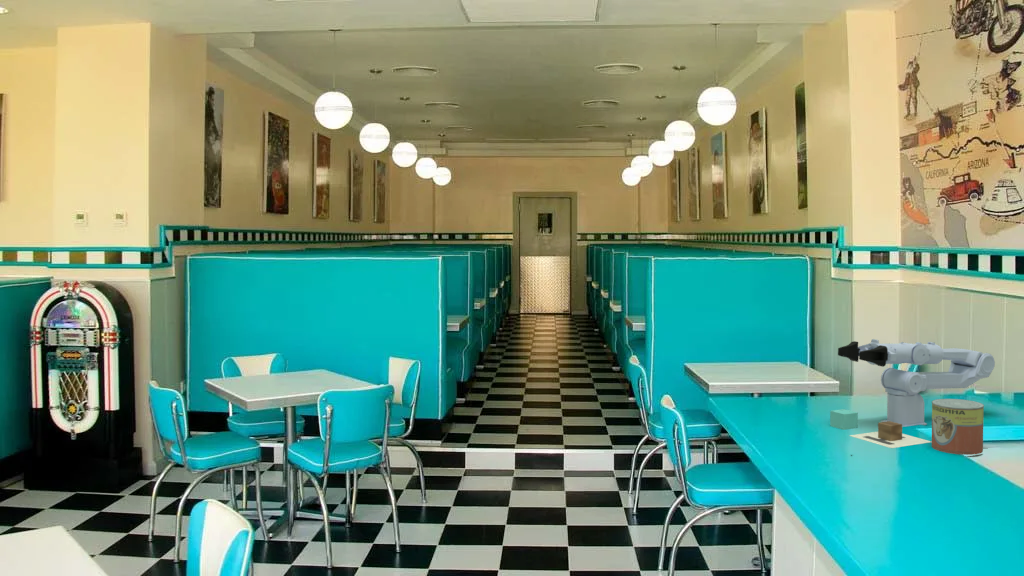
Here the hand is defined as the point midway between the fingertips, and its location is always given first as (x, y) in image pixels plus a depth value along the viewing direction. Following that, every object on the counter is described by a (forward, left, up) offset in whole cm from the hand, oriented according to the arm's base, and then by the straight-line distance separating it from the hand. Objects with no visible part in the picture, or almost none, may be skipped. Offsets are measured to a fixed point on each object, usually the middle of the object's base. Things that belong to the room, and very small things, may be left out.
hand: (849, 353), depth 214 cm
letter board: (-2, +12, -22) cm, 25 cm away
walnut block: (-2, +12, -21) cm, 24 cm away
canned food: (-9, +26, -22) cm, 35 cm away
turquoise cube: (-1, -3, -22) cm, 22 cm away
